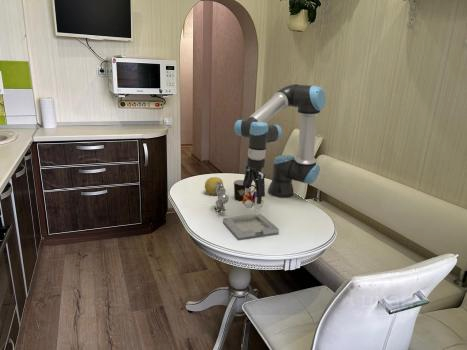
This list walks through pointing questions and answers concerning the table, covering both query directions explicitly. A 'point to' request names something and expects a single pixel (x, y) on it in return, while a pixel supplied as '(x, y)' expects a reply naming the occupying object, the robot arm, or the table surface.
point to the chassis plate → (250, 226)
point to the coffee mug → (239, 190)
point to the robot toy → (221, 196)
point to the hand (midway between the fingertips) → (252, 205)
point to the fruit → (212, 185)
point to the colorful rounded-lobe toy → (250, 200)
